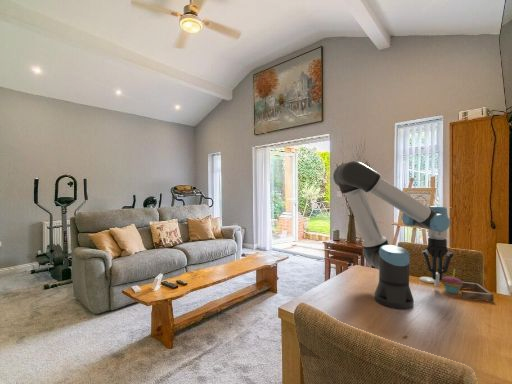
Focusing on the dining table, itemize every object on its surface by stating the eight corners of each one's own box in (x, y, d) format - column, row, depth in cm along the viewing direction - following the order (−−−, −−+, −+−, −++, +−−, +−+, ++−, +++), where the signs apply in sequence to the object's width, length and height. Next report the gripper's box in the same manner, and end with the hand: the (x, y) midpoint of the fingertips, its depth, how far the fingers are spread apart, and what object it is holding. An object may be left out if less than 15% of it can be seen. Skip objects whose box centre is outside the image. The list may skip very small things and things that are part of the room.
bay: (462, 298, 117) (462, 291, 117) (450, 286, 131) (450, 280, 131) (493, 301, 114) (493, 294, 113) (477, 289, 127) (477, 283, 127)
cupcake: (467, 295, 120) (467, 269, 120) (448, 295, 120) (449, 269, 120) (453, 288, 129) (453, 263, 129) (436, 287, 129) (436, 263, 129)
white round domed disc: (421, 282, 136) (421, 280, 136) (417, 277, 144) (417, 276, 144) (439, 284, 134) (439, 282, 134) (434, 279, 141) (434, 277, 141)
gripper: (424, 238, 125) (423, 287, 125) (456, 240, 120) (455, 290, 121) (419, 235, 132) (419, 282, 132) (450, 237, 128) (449, 285, 128)
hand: (436, 286), depth 127 cm, fingers closed
